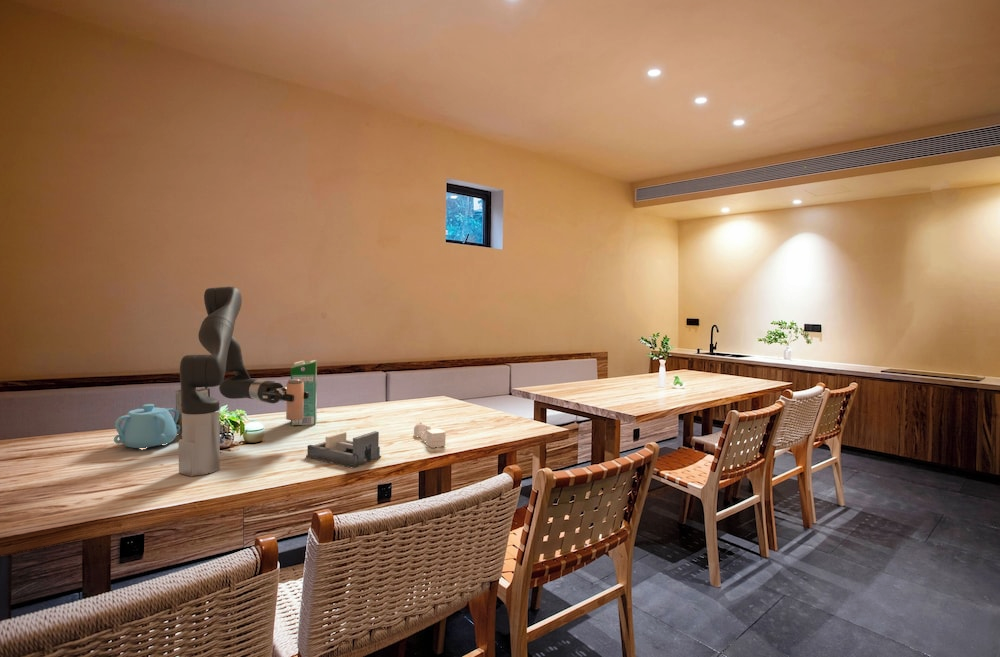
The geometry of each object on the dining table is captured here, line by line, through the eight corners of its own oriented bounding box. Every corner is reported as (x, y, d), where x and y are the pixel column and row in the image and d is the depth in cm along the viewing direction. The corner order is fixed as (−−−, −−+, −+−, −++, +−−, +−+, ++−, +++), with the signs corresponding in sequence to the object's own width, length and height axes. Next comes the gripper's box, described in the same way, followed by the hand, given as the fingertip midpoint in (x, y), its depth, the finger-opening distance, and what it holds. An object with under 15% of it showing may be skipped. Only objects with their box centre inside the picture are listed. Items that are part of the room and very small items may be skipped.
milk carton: (292, 420, 203) (293, 359, 202) (316, 419, 206) (316, 359, 205) (290, 426, 195) (290, 362, 193) (315, 424, 197) (315, 361, 196)
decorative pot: (187, 438, 175) (187, 399, 174) (162, 452, 159) (162, 409, 158) (136, 439, 173) (136, 400, 172) (106, 452, 157) (105, 409, 156)
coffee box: (211, 431, 184) (211, 388, 183) (199, 436, 177) (198, 391, 176) (188, 430, 185) (187, 387, 184) (175, 435, 178) (174, 390, 177)
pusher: (355, 462, 151) (355, 442, 151) (325, 455, 157) (325, 436, 157) (372, 456, 158) (372, 437, 157) (342, 449, 163) (342, 431, 163)
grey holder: (353, 468, 148) (354, 439, 148) (305, 457, 158) (306, 430, 157) (380, 457, 159) (381, 431, 159) (334, 447, 168) (334, 422, 168)
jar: (293, 421, 164) (294, 381, 164) (282, 418, 167) (282, 380, 166) (307, 417, 169) (307, 379, 168) (295, 415, 172) (296, 378, 171)
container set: (445, 447, 172) (445, 431, 172) (431, 449, 170) (431, 433, 170) (424, 433, 190) (424, 419, 190) (411, 435, 187) (411, 420, 187)
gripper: (247, 383, 168) (282, 389, 160) (283, 377, 180) (317, 382, 172) (247, 405, 168) (282, 412, 160) (283, 398, 181) (317, 404, 173)
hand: (300, 397), depth 166 cm, fingers closed on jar, 5 cm apart
